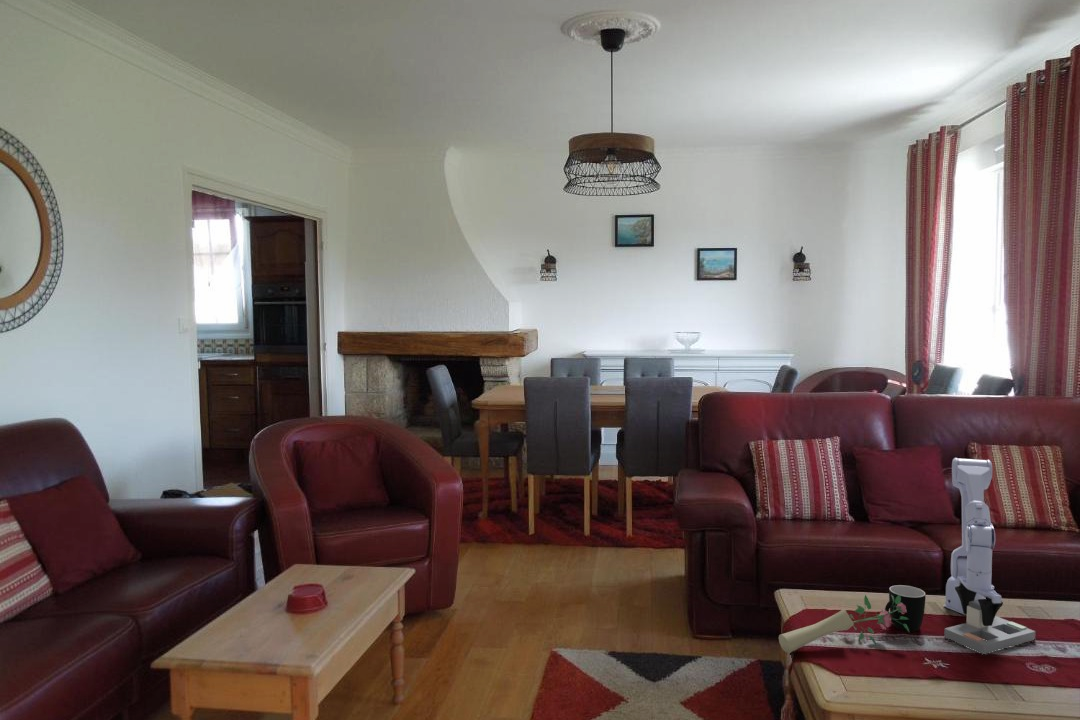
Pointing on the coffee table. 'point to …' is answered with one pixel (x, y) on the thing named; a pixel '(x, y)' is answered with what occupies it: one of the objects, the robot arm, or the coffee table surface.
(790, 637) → the flower vase
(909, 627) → the mug
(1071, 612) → the coffee table surface
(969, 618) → the plug
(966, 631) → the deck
